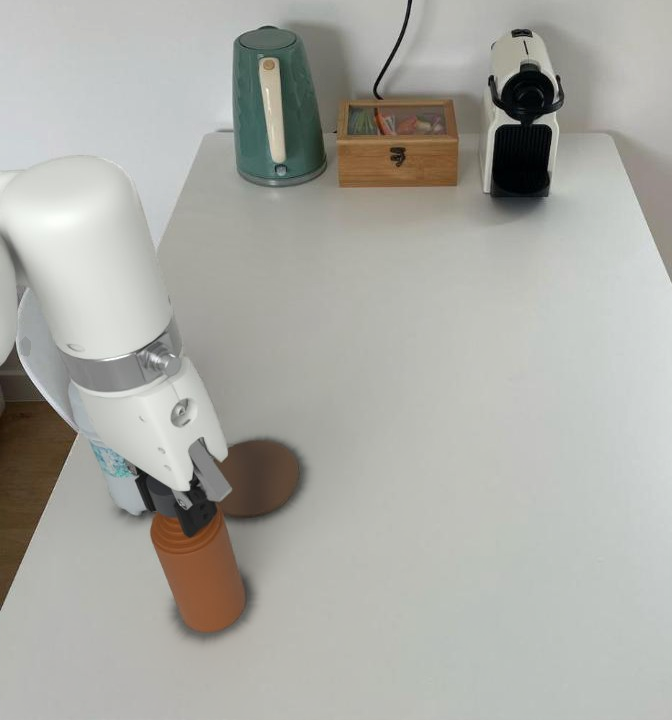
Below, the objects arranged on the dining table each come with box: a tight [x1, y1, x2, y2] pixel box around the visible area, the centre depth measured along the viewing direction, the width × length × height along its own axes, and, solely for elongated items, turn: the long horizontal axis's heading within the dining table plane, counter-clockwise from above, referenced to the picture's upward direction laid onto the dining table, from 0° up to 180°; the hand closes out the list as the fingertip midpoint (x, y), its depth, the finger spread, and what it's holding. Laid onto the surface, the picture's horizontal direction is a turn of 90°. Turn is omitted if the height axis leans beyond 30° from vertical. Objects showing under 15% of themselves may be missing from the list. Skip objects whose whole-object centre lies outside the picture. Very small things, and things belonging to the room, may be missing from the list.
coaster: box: [212, 439, 300, 519], centre depth 86 cm, size 10×10×1 cm
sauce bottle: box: [149, 503, 247, 633], centre depth 69 cm, size 6×6×18 cm
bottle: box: [67, 380, 157, 517], centre depth 78 cm, size 7×7×20 cm
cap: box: [146, 474, 197, 518], centre depth 64 cm, size 4×4×3 cm
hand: (182, 510), depth 66 cm, fingers closed on cap, 3 cm apart
